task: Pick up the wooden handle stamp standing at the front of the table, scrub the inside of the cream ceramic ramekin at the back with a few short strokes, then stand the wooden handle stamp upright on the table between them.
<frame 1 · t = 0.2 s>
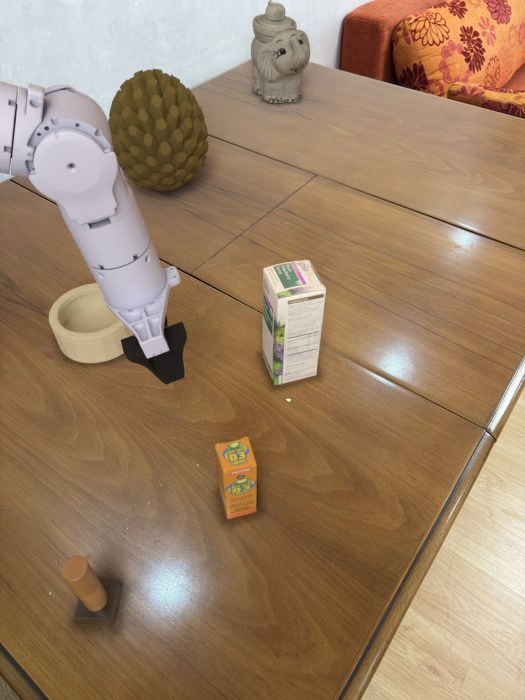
hand: (165, 352, 55), 12 cm above the table, tool pointing down, fingers open, 7 cm apart
cream ceramic ramekin: (99, 333, 73), on the table
decorative object: (166, 186, 100), on the table
grey elephant figurine: (280, 99, 127), on the table
supplement box: (239, 504, 56), on the table
wooden handle stamp: (100, 605, 49), on the table
syrup box: (289, 366, 69), on the table
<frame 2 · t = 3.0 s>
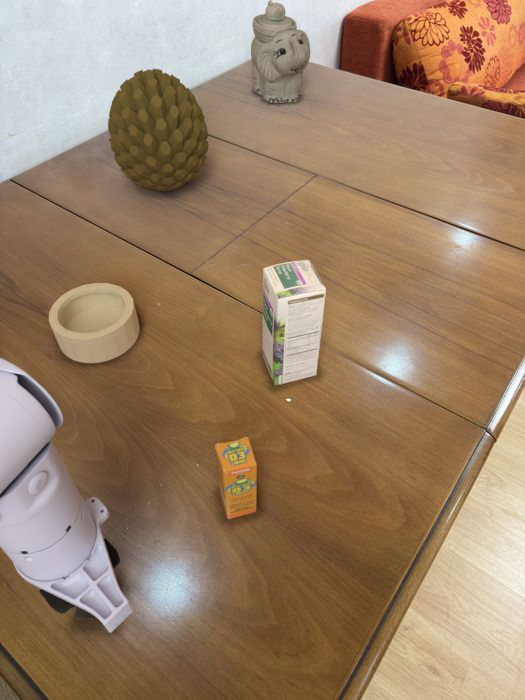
hand: (87, 586, 45), 5 cm above the table, tool pointing down, fingers closed on wooden handle stamp, 2 cm apart
wooden handle stamp: (100, 605, 49), on the table, touching gripper
everything else where it was.
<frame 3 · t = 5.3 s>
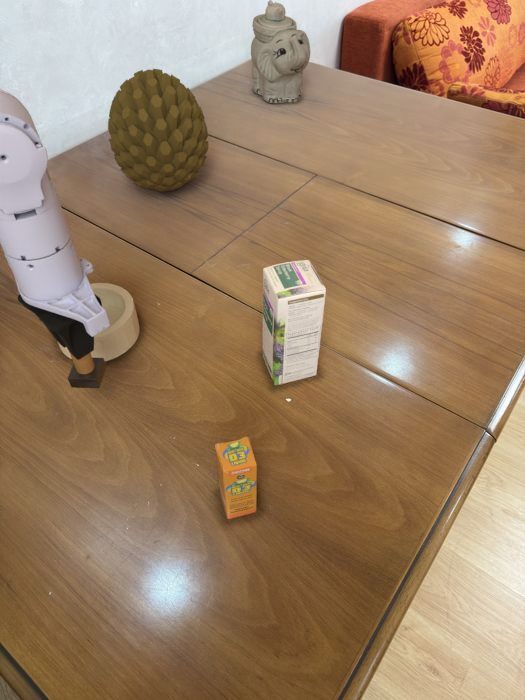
hand: (77, 347, 57), 10 cm above the table, tool pointing down, fingers closed on wooden handle stamp
wooden handle stamp: (89, 377, 60), point 6 cm above the table, touching gripper
everything else where it was.
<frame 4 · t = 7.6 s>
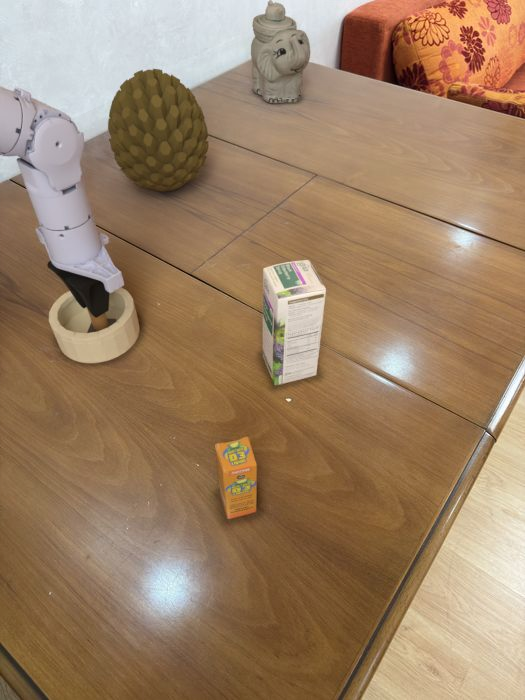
hand: (95, 308, 68), 5 cm above the table, tool pointing down, fingers closed on wooden handle stamp, 2 cm apart
wooden handle stamp: (104, 335, 72), point 1 cm above the table, touching gripper
everything else where it was.
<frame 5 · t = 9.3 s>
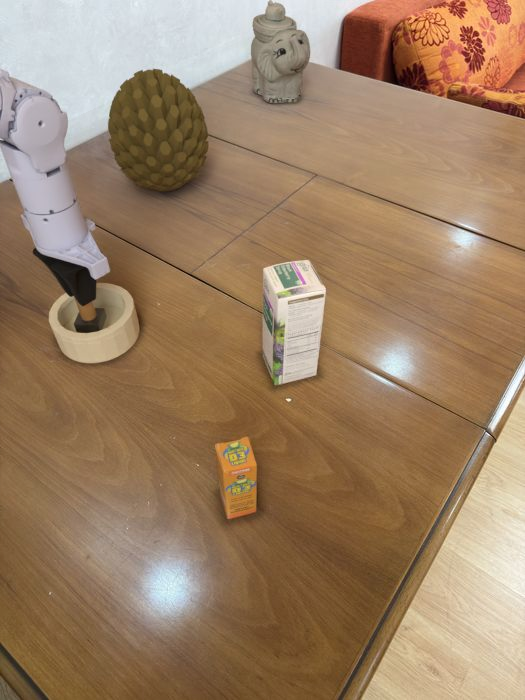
hand: (82, 296, 67), 7 cm above the table, tool pointing down, fingers closed on wooden handle stamp, 2 cm apart
wooden handle stamp: (92, 324, 71), point 2 cm above the table, touching gripper
everything else where it was.
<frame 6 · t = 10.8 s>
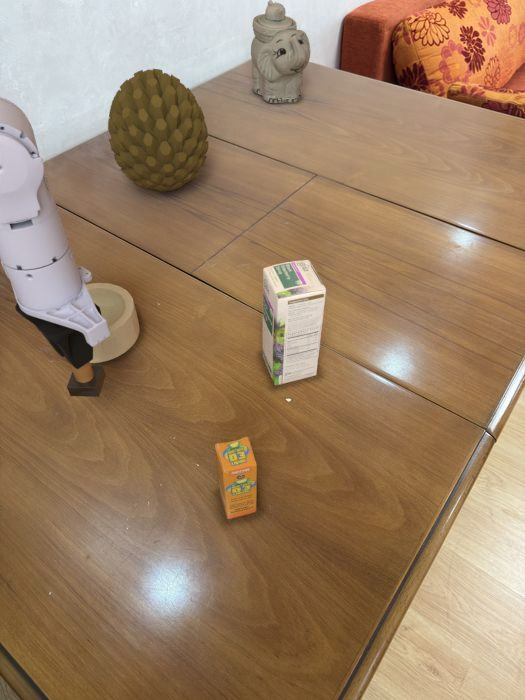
hand: (76, 356, 56), 10 cm above the table, tool pointing down, fingers closed on wooden handle stamp
wooden handle stamp: (88, 385, 60), point 5 cm above the table, touching gripper
everything else where it was.
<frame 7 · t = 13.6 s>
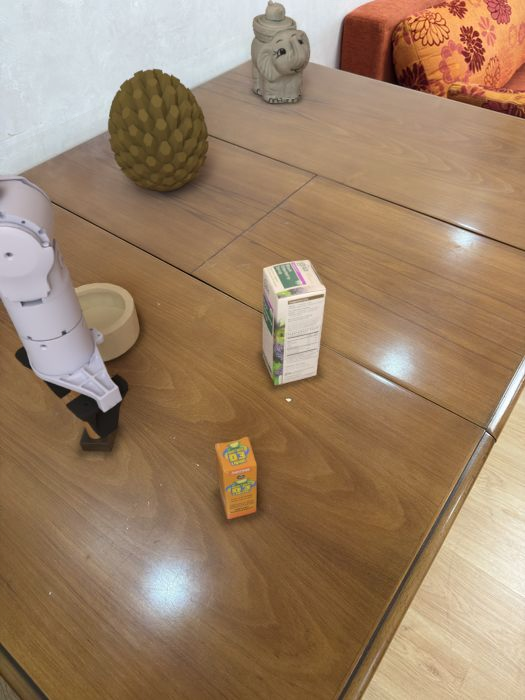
hand: (87, 411, 57), 6 cm above the table, tool pointing down, fingers open, 7 cm apart
wooden handle stamp: (100, 439, 61), on the table
everything else where it was.
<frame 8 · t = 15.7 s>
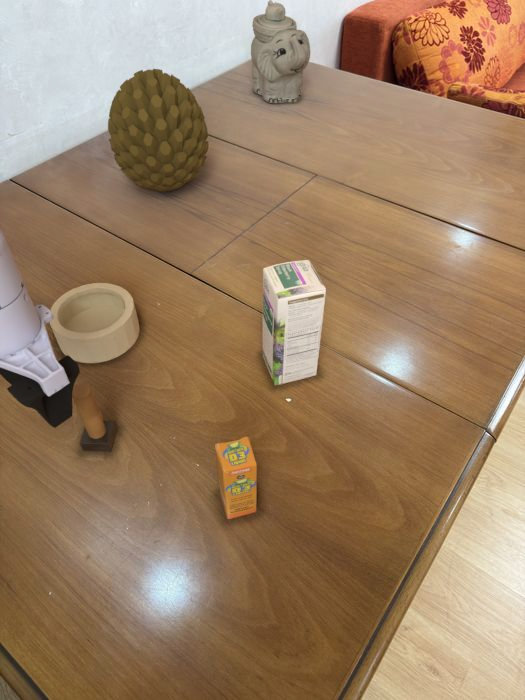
hand: (39, 398, 52), 10 cm above the table, tool pointing down, fingers open, 7 cm apart
nothing on the table moved.
at the end: wooden handle stamp 0.2 cm from the target spot, on the table; wooden handle stamp tilted 0°; cream ceramic ramekin moved 0.0 cm from its start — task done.
